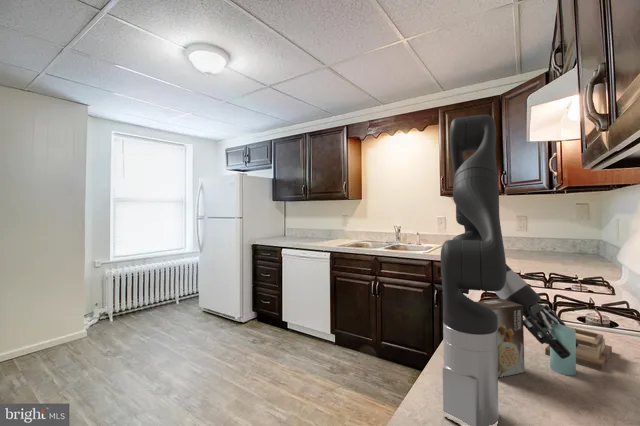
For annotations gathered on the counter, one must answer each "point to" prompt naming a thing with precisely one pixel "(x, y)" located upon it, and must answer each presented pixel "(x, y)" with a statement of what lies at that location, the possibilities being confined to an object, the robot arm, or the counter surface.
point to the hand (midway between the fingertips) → (571, 351)
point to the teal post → (569, 342)
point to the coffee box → (508, 335)
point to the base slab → (593, 344)
